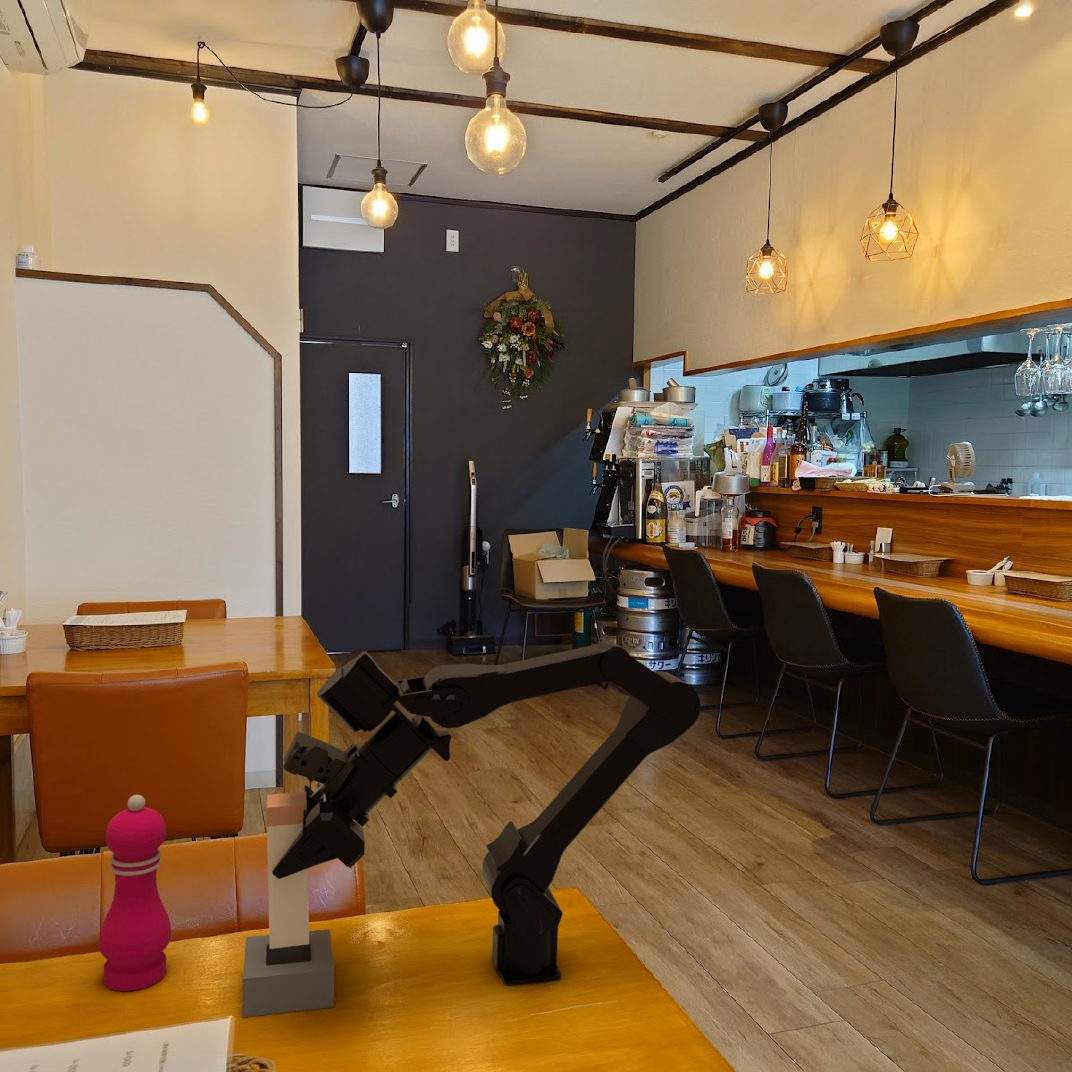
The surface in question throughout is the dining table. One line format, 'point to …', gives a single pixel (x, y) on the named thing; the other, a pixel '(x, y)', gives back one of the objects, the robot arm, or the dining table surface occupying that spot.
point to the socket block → (288, 975)
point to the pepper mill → (135, 901)
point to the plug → (292, 890)
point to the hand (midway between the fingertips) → (276, 867)
